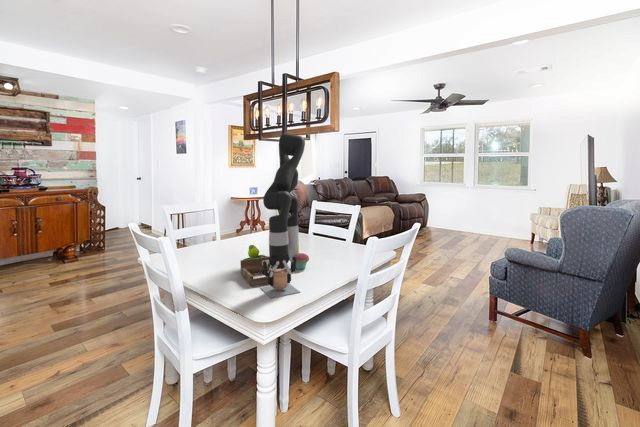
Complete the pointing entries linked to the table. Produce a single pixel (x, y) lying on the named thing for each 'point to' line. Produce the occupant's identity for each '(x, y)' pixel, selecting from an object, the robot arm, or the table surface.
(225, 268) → the table surface
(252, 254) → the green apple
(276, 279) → the peach round knob
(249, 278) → the frame
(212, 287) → the table surface
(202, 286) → the table surface
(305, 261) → the cupcake
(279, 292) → the gray square base plate
